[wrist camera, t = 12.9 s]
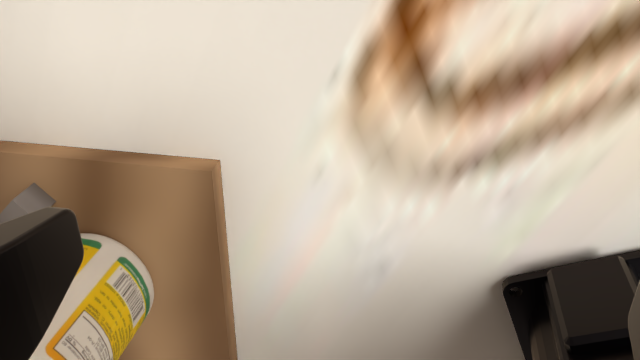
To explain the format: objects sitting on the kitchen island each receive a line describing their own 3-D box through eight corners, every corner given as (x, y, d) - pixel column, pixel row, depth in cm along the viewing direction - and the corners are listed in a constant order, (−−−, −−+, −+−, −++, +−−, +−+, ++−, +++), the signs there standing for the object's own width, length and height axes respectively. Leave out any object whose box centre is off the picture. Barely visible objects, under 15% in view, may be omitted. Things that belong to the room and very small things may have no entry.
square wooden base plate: (219, 160, 24) (198, 189, 22) (238, 370, 30) (222, 410, 28) (-47, 136, 26) (-91, 161, 24) (19, 338, 32) (-12, 373, 30)
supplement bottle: (175, 270, 26) (51, 461, 18) (133, 339, 29) (7, 533, 20) (67, 206, 26) (-113, 373, 17) (34, 283, 28) (-137, 460, 20)
